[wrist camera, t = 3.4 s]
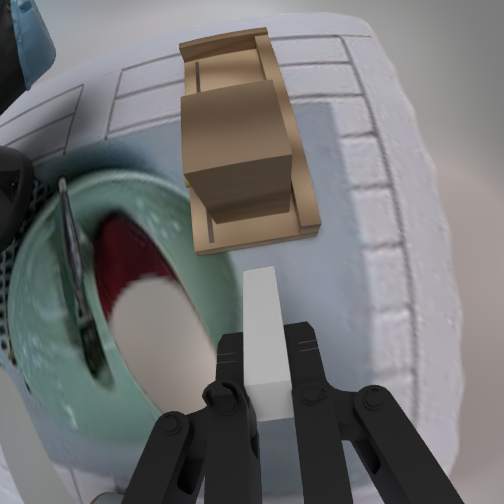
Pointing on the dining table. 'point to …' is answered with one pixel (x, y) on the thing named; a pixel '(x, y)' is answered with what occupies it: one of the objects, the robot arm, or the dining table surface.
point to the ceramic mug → (108, 498)
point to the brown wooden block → (237, 151)
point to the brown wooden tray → (266, 68)
